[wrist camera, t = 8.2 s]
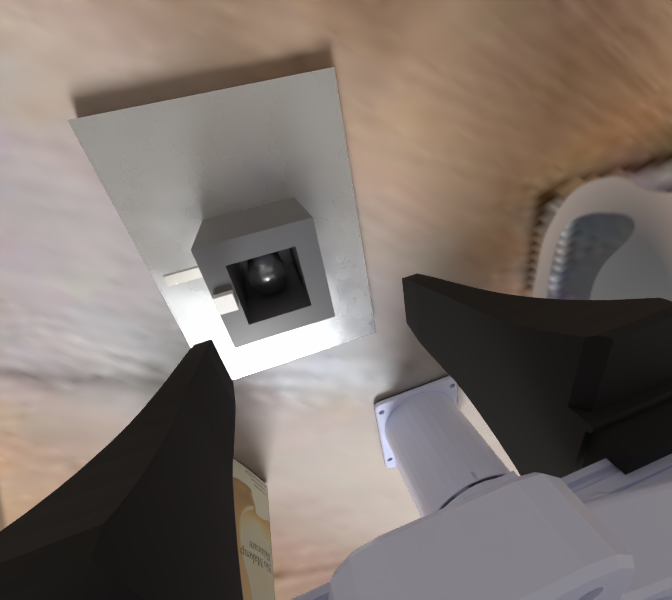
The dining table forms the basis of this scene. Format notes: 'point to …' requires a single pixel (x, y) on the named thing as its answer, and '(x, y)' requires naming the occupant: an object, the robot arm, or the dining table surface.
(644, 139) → the dining table surface
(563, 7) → the dining table surface
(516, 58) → the dining table surface
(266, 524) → the skincare box
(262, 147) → the shaft plate
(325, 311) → the hollow square box
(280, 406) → the dining table surface
